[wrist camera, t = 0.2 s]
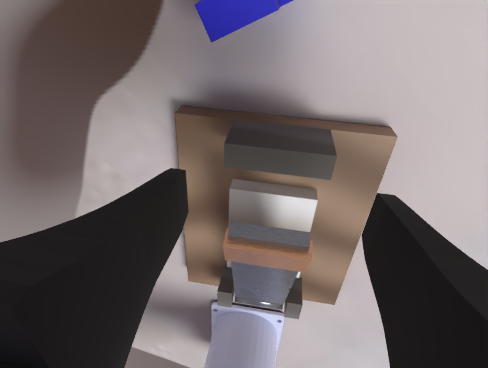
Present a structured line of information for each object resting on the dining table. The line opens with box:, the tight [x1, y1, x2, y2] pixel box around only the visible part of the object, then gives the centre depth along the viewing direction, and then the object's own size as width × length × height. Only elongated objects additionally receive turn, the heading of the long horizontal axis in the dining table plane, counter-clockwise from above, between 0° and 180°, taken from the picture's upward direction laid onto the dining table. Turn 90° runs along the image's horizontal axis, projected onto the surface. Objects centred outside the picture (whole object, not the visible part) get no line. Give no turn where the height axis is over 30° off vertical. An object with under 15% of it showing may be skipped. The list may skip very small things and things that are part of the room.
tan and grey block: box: [223, 221, 312, 309], centre depth 20 cm, size 14×4×1 cm, turn 178°
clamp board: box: [175, 106, 397, 319], centre depth 22 cm, size 17×14×5 cm
